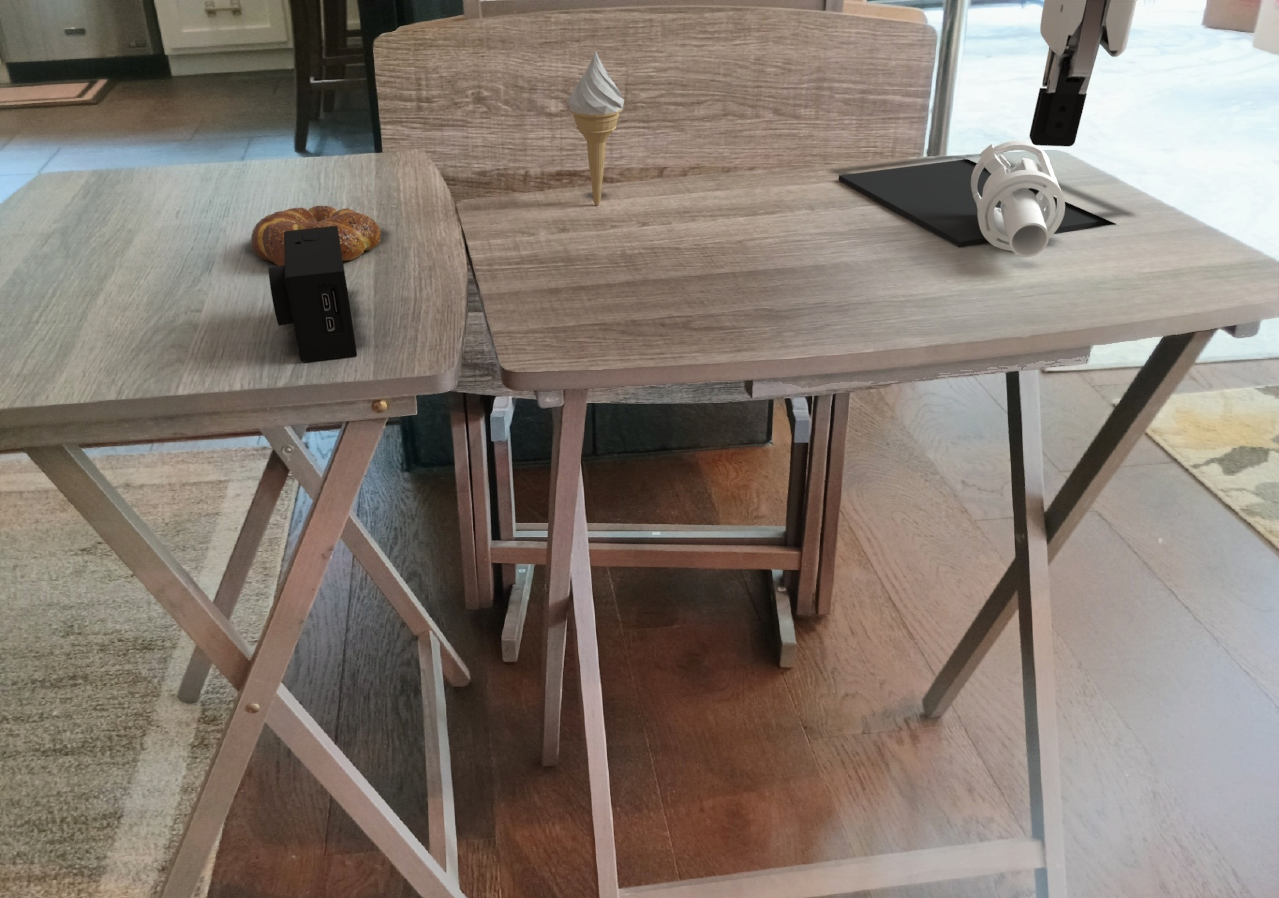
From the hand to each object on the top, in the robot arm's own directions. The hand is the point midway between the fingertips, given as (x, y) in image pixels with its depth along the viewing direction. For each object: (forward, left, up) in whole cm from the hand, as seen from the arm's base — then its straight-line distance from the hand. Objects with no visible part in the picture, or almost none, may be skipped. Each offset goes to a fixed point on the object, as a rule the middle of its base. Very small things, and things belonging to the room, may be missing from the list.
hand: (1050, 142), depth 83 cm
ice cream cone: (+31, +28, -11) cm, 43 cm away
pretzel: (+28, +57, -11) cm, 65 cm away
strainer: (0, 0, -8) cm, 8 cm away
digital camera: (+9, +59, -11) cm, 61 cm away
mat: (+18, -8, -11) cm, 23 cm away
